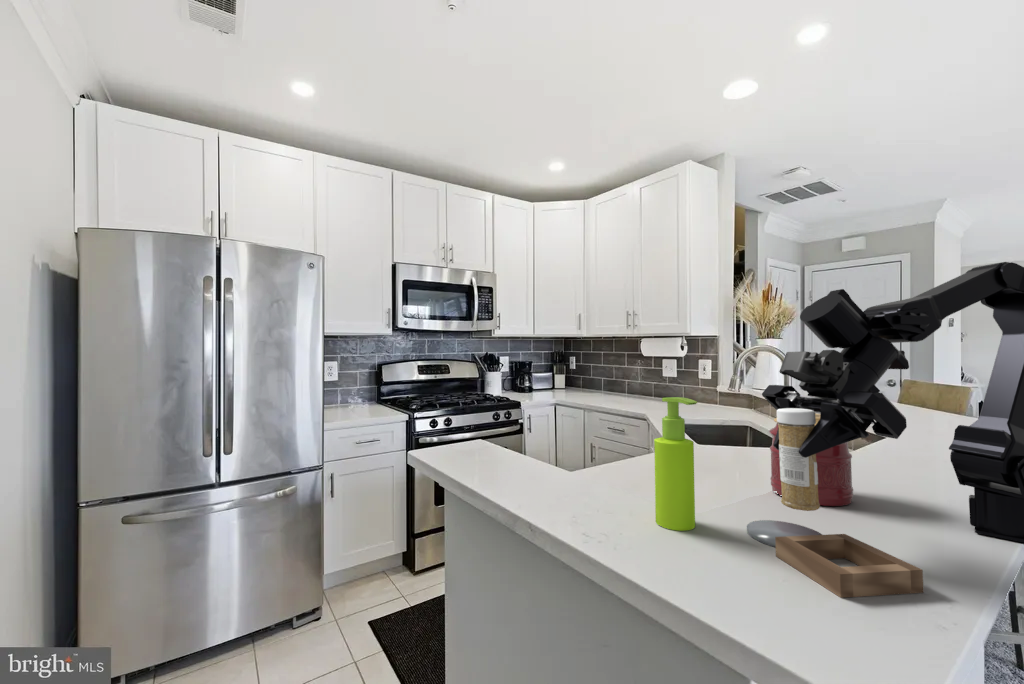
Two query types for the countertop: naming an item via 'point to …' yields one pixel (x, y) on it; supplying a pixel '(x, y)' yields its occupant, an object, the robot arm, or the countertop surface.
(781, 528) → the slate coaster
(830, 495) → the canister
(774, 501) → the countertop surface
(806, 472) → the sprinkles bottle
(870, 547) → the walnut pocket block
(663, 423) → the soap dispenser
